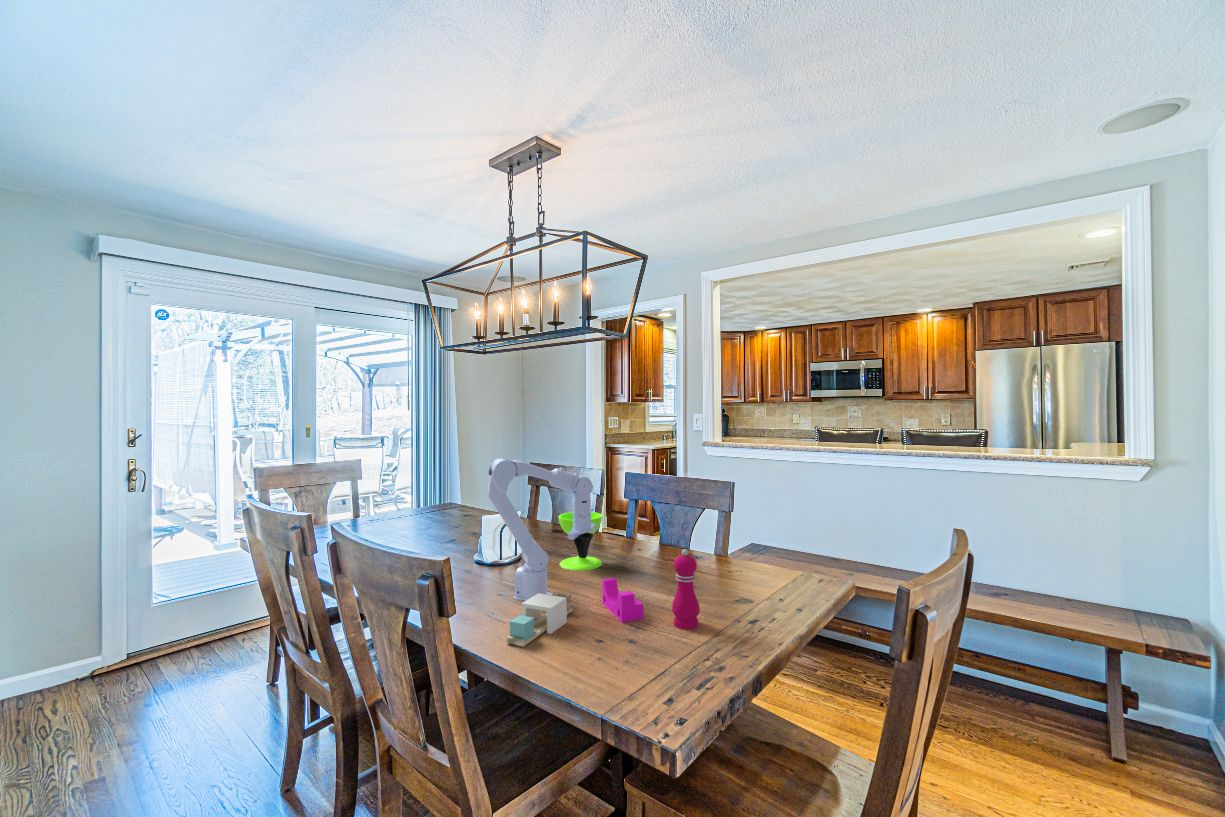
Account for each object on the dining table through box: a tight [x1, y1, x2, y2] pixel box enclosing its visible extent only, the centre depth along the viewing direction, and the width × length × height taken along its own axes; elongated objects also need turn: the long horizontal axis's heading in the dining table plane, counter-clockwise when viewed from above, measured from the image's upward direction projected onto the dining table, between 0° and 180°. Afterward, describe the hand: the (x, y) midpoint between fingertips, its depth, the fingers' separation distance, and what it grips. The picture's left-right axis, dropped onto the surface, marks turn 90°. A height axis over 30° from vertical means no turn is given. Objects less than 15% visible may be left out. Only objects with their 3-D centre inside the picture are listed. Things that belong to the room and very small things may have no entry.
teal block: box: [509, 614, 534, 641], centre depth 130 cm, size 4×4×4 cm
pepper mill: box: [671, 548, 701, 631], centre depth 138 cm, size 7×7×20 cm
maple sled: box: [506, 591, 573, 647], centre depth 138 cm, size 5×24×5 cm, turn 155°
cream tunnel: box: [521, 593, 568, 635], centre depth 139 cm, size 9×8×7 cm
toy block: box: [601, 577, 644, 623], centre depth 148 cm, size 15×6×8 cm, turn 21°
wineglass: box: [558, 511, 603, 571], centre depth 194 cm, size 16×16×18 cm
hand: (582, 557), depth 166 cm, fingers closed
